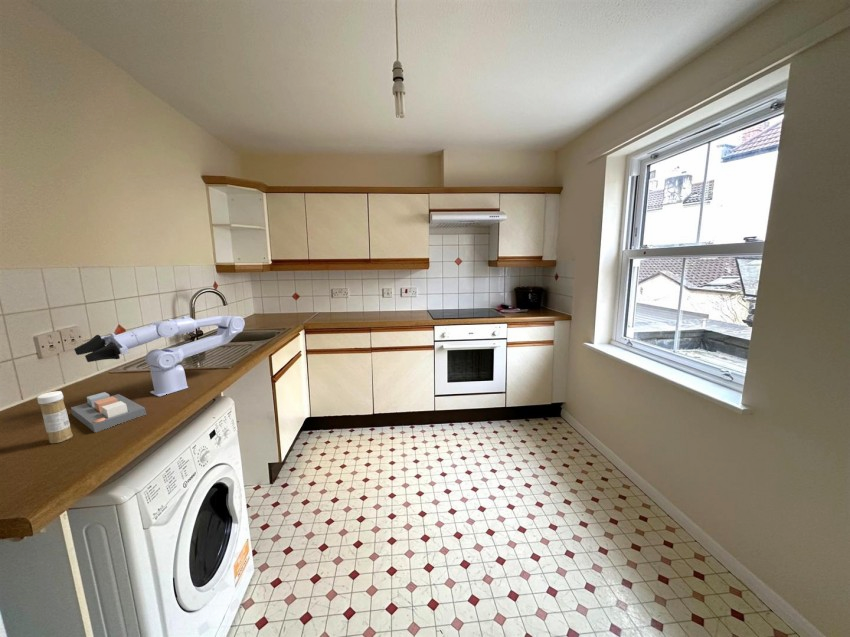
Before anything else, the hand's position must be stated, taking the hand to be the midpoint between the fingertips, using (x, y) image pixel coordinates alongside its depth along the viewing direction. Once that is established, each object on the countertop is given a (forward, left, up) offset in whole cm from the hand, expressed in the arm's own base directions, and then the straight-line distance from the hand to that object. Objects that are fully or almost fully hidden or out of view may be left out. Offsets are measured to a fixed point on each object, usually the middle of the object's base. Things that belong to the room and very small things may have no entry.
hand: (80, 355), depth 103 cm
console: (-2, +5, -20) cm, 20 cm away
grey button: (-2, -2, -18) cm, 18 cm away
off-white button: (-2, +13, -18) cm, 22 cm away
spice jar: (+10, +13, -20) cm, 26 cm away
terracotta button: (-2, +5, -18) cm, 19 cm away
